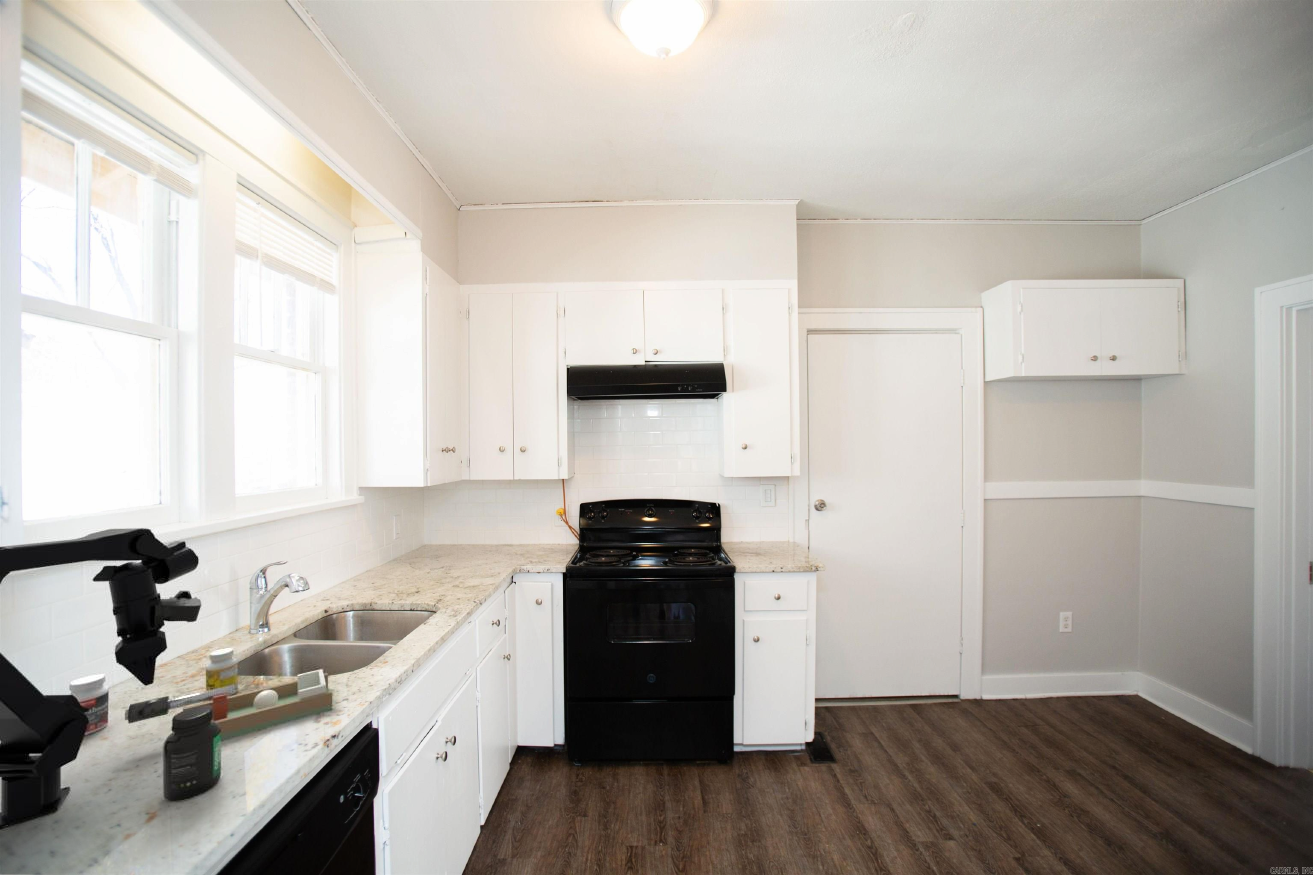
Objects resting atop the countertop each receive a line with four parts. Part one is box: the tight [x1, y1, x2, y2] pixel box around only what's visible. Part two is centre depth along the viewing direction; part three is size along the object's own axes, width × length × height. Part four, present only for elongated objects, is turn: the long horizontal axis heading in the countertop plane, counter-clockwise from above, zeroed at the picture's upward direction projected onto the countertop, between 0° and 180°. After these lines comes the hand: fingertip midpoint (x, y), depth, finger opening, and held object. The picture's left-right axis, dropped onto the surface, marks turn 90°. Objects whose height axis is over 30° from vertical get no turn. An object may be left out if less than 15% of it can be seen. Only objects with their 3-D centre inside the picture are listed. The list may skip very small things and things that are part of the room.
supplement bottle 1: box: [162, 705, 222, 802], centre depth 81 cm, size 7×7×12 cm
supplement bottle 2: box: [205, 647, 239, 701], centre depth 113 cm, size 5×5×10 cm
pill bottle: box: [68, 673, 110, 736], centre depth 99 cm, size 6×6×10 cm
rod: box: [124, 685, 235, 724], centre depth 96 cm, size 4×15×7 cm, turn 127°
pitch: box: [182, 672, 333, 741], centre depth 102 cm, size 12×24×4 cm, turn 127°
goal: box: [296, 668, 326, 699], centre depth 108 cm, size 10×5×4 cm, turn 37°
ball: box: [253, 690, 278, 710], centre depth 103 cm, size 4×4×4 cm
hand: (148, 673), depth 94 cm, fingers open, 9 cm apart
